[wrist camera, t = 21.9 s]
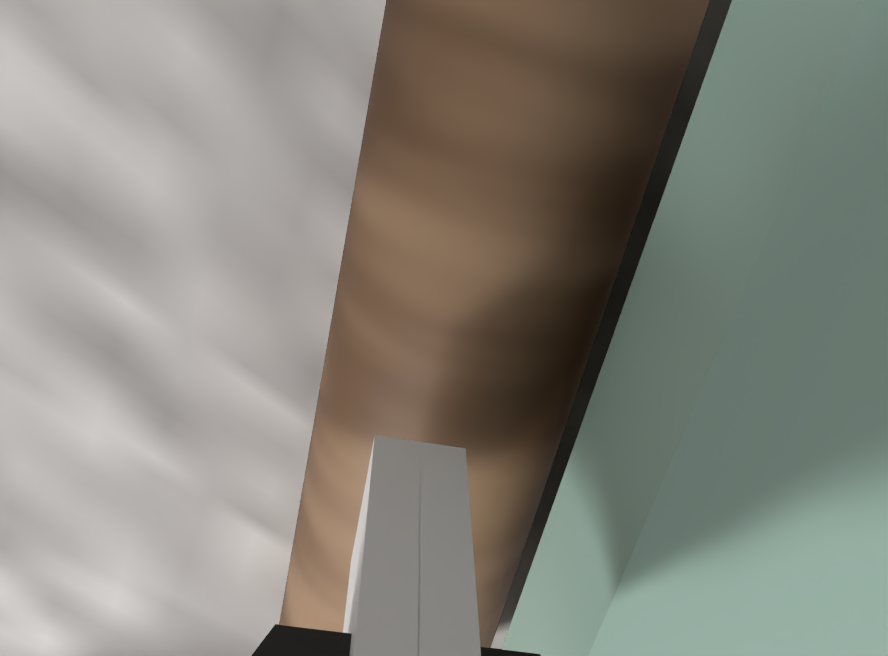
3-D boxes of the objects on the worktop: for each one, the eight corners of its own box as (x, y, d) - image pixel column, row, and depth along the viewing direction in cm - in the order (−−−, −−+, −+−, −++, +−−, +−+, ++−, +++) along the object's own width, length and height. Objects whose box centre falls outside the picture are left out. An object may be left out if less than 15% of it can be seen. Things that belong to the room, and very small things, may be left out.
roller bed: (425, -199, 15) (423, -254, 10) (1235, 11, 17) (1553, 48, 12) (279, 635, 25) (244, 809, 20) (806, 708, 27) (890, 882, 22)
